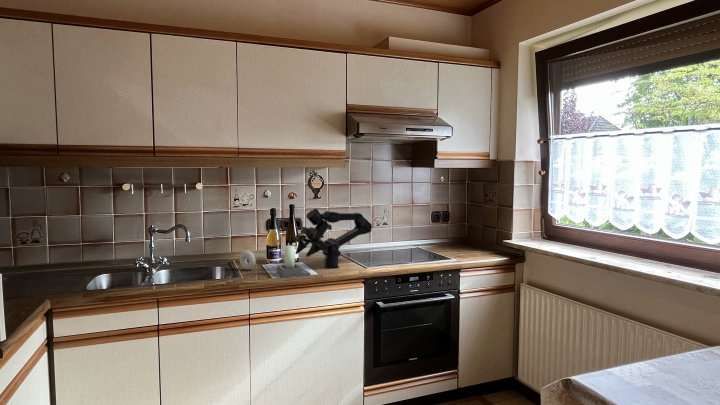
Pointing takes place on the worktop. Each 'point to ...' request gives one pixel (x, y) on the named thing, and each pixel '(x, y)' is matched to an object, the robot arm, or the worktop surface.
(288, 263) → the pale green cylinder
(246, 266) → the donut
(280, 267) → the socket
